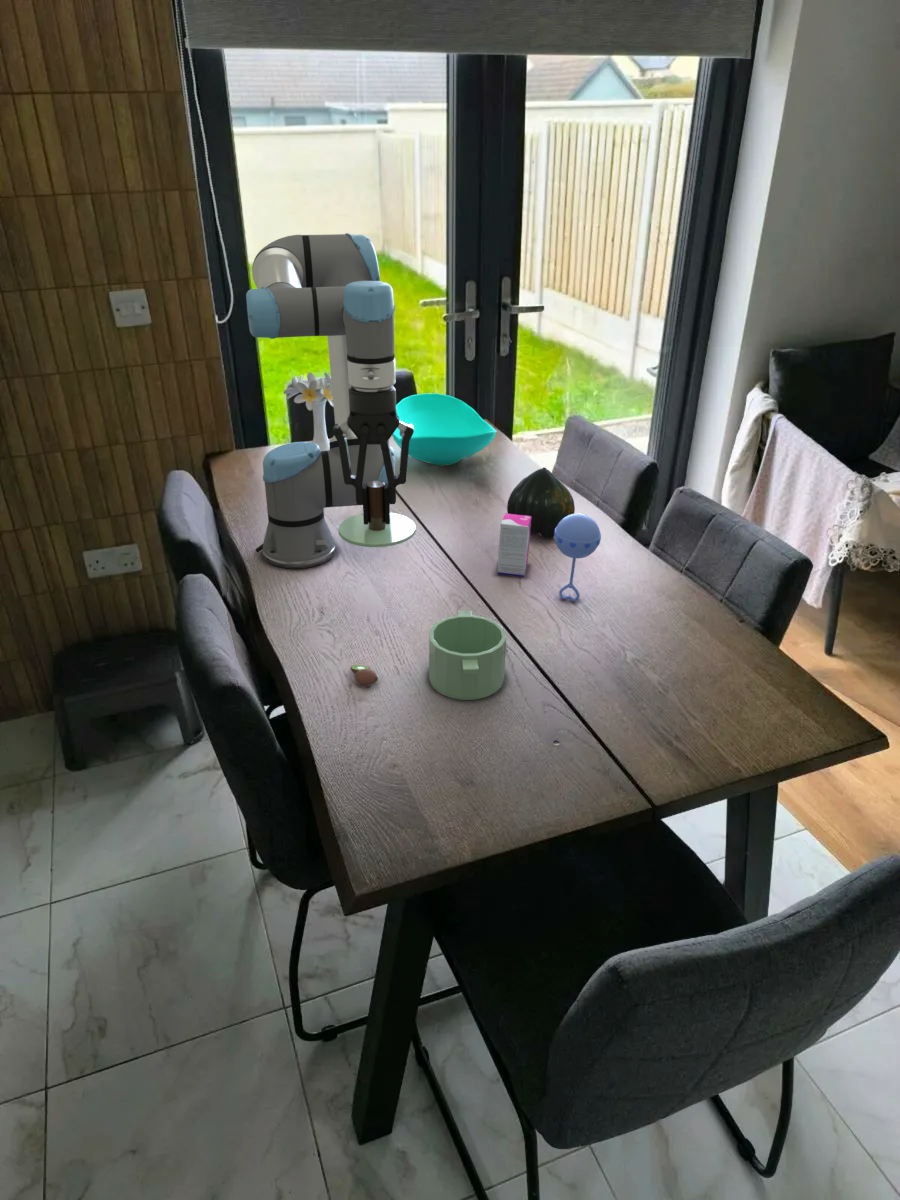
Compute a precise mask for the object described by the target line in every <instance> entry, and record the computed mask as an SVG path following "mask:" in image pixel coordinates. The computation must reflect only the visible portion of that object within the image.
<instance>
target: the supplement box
mask: <svg viewBox="0 0 900 1200" xmlns="http://www.w3.org/2000/svg"><path fill="white" fill-rule="evenodd" d="M530 528H531V516H524V515H515V514H508V513H507V512H506V513H504V514H503V517H502V519H501V522H500V530H499V545H498V559H497V571H496V575H498V576H508V577H516V578H525V575H526V569H527V567H528V562H529V551H530V539H531V533H530Z"/></svg>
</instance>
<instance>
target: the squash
mask: <svg viewBox="0 0 900 1200" xmlns="http://www.w3.org/2000/svg"><path fill="white" fill-rule="evenodd" d="M575 510H576V507H575V501H574V498H573V495H572V493H571V492H570V490H569V489H568V488H567V487H566V485H564V484H563V482H561V481H560V479H558V478H557V477H556V476H555V474H554V473H552V471H550V470H549V469H548V468H547V467H542V468H539V469H538V468H537V469H536V470H535V471H533V472H532V473H530V474H528V475H527V476H526V477H524V478H523V479H522V480H520V481H519V482H518V484H517V485H515V487H514V488H513V490H512V491H511V493H510V495H509V497H508V500H507V505H506V513H507V514H515V515H524V516H531V528H530V534H532V535H540V536H541V538H543V539H545V540H551V539H554V532H555V528H556V527H557V525H558V524H559V522H560V521H561V520H562V519H563V518H565V517H566V516H568V515H571V514H575Z"/></svg>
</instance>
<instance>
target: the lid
mask: <svg viewBox="0 0 900 1200" xmlns="http://www.w3.org/2000/svg"><path fill="white" fill-rule="evenodd" d="M384 486H385V484H384V483H383V482H381V481H371V482H369V483H367V501H368V524H365V525H364V519H363V512H361V513H358V514H354V515H352V516H349V517H347V518H346V519H344V520H342V521H341V523H340V524H339V525H338V528H337V529H338V536H339V537H340V538H341V539H342V540H343V541H345V542H346V543H349V544H351V545H353V546H354V545H355V546H358V547H365V548H384V547H385V548H387V547H392V546H396V545H397V546H398V545H401V544H402V543H405V542H407V541H409V540H410V539H412V538H413V537H414V536H415V534H416V531H417V527H416V524H415V522H414V521H413V520H412V519H411V518H409V517H407V516H406V515H403V514H401V513H400V514H399V513H395V512H390V524H385V495H384Z"/></svg>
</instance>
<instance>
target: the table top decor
mask: <svg viewBox="0 0 900 1200" xmlns="http://www.w3.org/2000/svg"><path fill="white" fill-rule="evenodd" d="M396 413H397V415H398V417H399V420H400V421H401V422H404V423H406V424H409V423H411V424H413V426H414V433H413V435H412V437H411V439H410V441H409V452H408V456H410V457H411V458H412V459H415V460H417V461H421V462H424V463H428V464H432V465H436V466H452V465H454V464H457V463H458V462H460V461H461V460H462V459H465V458H468V457H471V456H474V455H475V454H477V453H479V452H481V451H482V450H484V449H485V448H486V447H488V446H489V445H490V444H491V443H492V441H494V440H495V438H496V435H497V433H498V431H497V430H496V429H495V428H494V427H493V426H492V425H491V424H490V423H489V422H487V421H486V420H485V419H483V418H482V417H481V416H480V414H479V413H478V412H477V411H476V410H475V409H474V408H473V407H471V406H470V405H469V404H467V403H466V402H465V401H463V400H462V399H459V398H457V397H454V396H451V395H449V394H444V393H437V392H436V393H434V392H433V393H417V394H412V395H409V396H407V397H404V398H402V399H401V400H400V401H399V402H398V403H396ZM399 431H400V430H399V429H398V428H397V429H396V430H395V432H394V433H393V434H392V436H391V437H392V438H393V440H394V443H396V445H397V446H398V447H399V448H400V449H401V443H402V437H401V436H400V434H399Z"/></svg>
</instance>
